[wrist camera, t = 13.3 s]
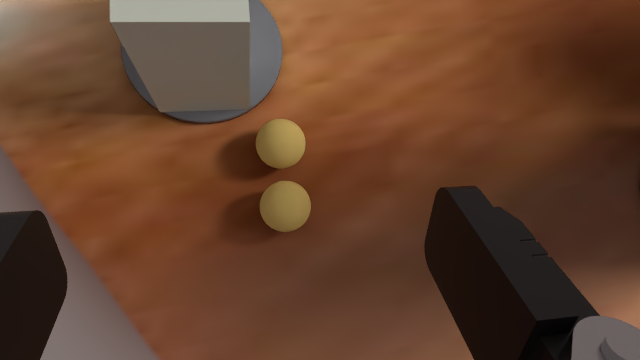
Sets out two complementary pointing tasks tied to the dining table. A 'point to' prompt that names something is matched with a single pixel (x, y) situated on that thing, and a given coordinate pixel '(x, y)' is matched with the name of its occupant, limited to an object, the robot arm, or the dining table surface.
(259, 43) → the coaster
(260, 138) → the ball
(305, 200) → the ball
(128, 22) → the pale grey rectangular box
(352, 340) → the dining table surface
